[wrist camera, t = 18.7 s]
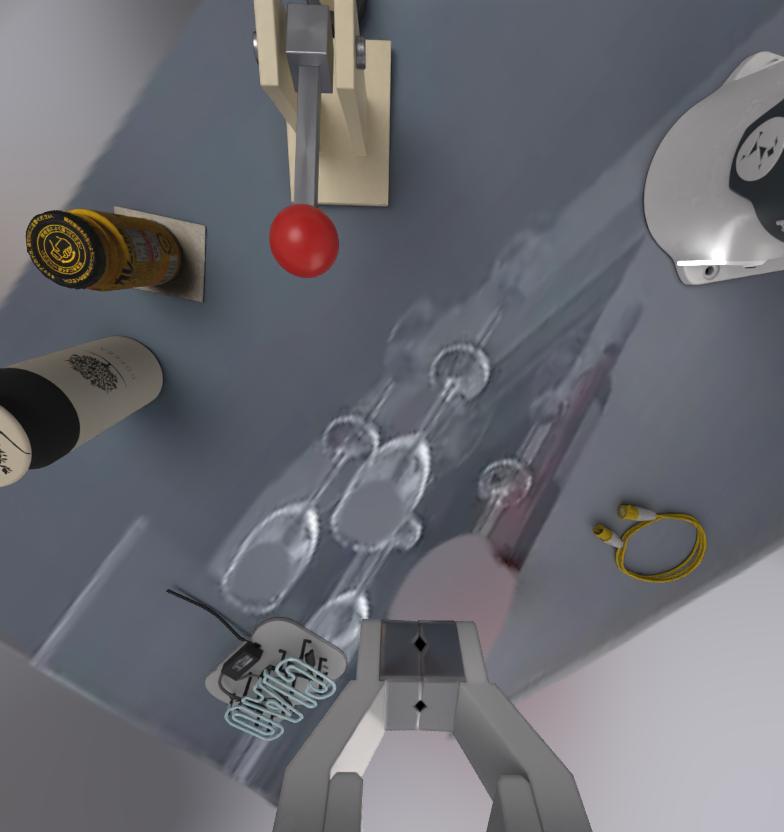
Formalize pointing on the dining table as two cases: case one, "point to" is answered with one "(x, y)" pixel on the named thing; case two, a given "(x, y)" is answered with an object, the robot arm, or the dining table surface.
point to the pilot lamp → (359, 3)
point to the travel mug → (70, 400)
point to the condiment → (119, 251)
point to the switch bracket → (335, 105)
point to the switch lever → (307, 146)
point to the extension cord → (647, 518)
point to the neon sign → (273, 673)
